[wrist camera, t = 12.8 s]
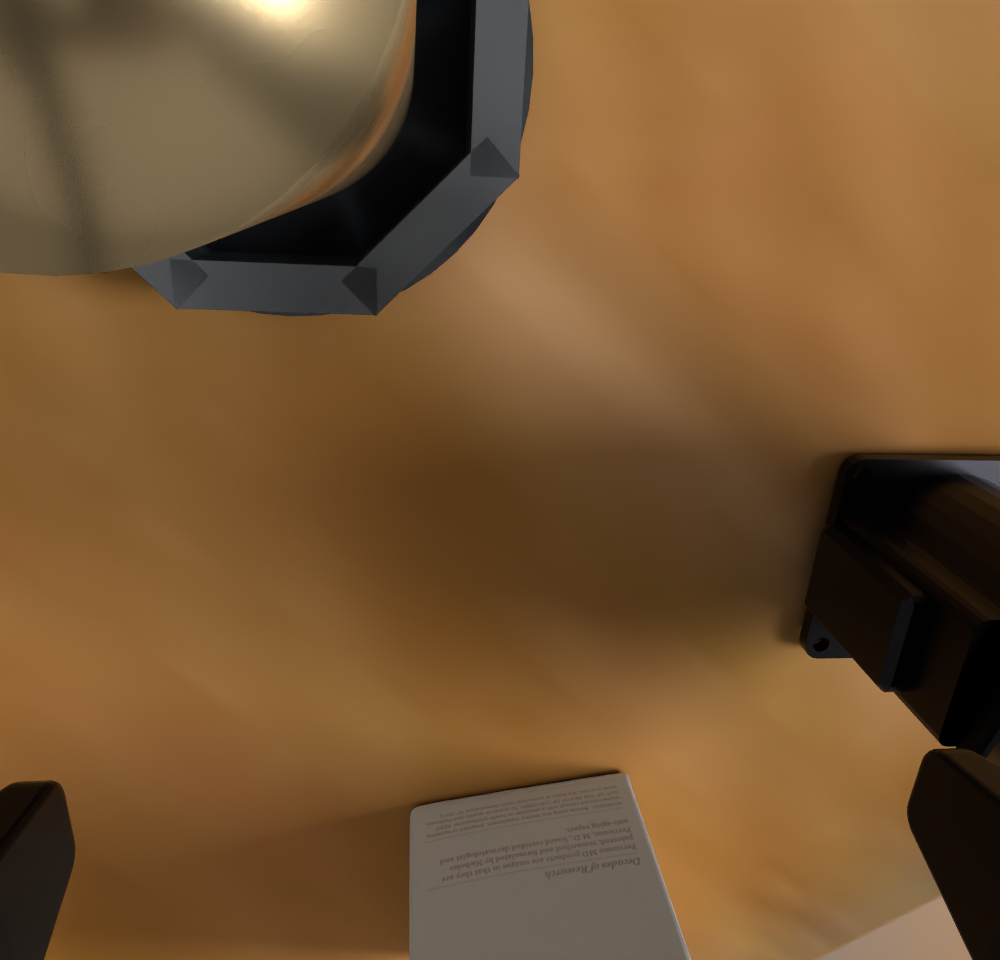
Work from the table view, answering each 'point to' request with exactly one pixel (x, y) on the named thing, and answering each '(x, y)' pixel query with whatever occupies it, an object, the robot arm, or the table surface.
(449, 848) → the supplement box
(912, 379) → the table surface
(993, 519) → the robot arm
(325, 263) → the ring collar
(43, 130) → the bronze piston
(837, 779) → the table surface
